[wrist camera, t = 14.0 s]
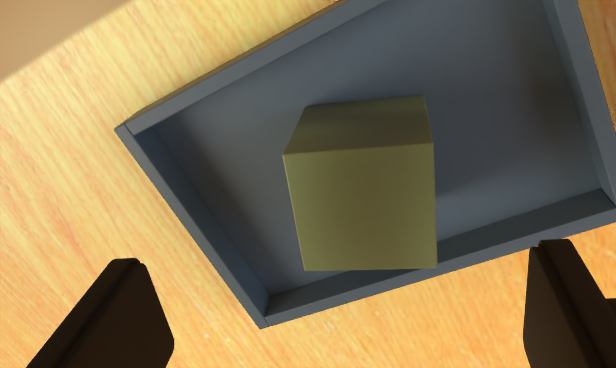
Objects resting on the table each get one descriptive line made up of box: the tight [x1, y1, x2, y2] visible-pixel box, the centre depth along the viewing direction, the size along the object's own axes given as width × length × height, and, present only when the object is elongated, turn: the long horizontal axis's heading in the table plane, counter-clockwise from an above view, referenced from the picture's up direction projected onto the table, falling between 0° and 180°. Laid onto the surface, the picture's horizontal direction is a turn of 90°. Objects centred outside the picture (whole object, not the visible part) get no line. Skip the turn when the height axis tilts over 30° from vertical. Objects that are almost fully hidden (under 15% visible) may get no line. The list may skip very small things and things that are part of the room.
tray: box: [114, 0, 616, 329], centre depth 19 cm, size 16×11×2 cm
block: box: [282, 95, 437, 271], centre depth 17 cm, size 4×4×4 cm
